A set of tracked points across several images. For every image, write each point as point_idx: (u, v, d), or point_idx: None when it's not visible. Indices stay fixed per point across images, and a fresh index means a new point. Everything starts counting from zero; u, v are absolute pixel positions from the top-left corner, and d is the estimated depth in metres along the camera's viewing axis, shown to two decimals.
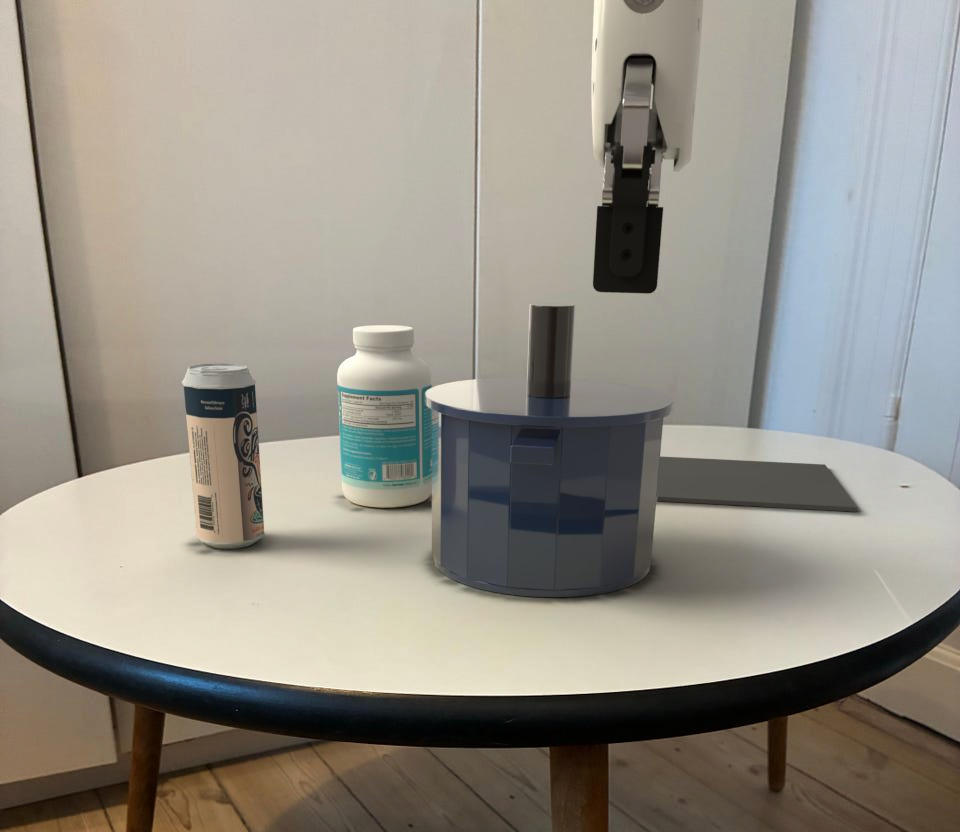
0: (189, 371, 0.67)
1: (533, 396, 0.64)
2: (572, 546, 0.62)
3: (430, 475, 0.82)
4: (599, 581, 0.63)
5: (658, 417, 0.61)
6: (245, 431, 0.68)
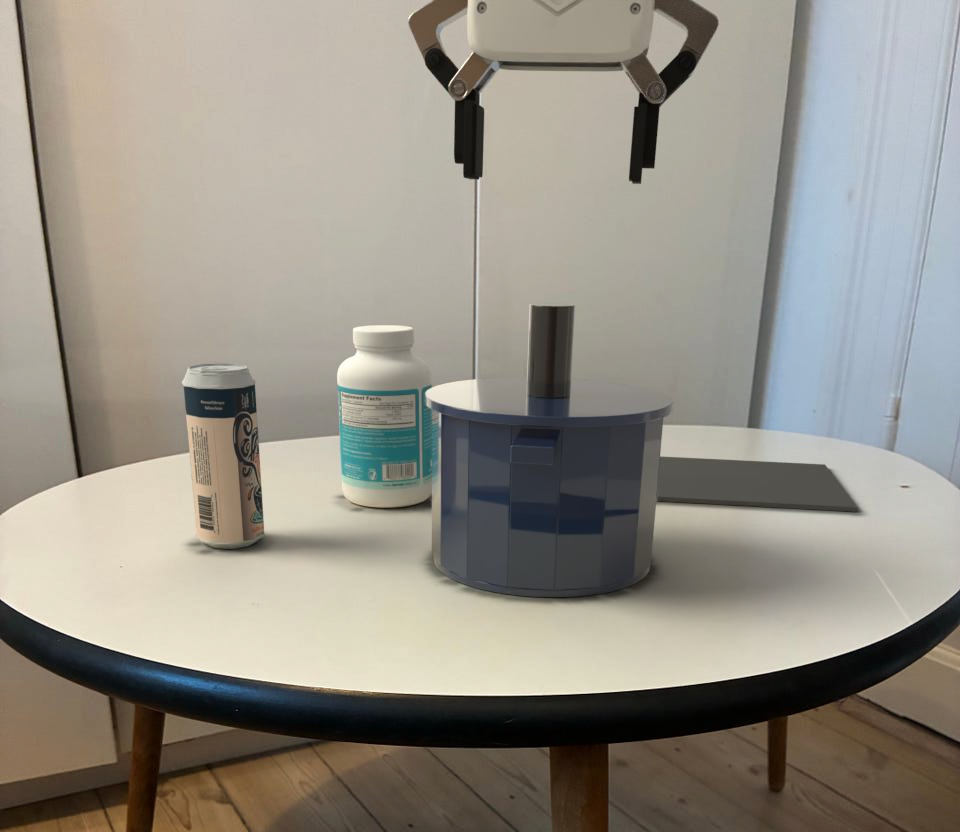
0: (189, 371, 0.67)
1: (533, 396, 0.64)
2: (572, 546, 0.62)
3: (430, 475, 0.82)
4: (599, 581, 0.63)
5: (658, 417, 0.61)
6: (245, 431, 0.68)
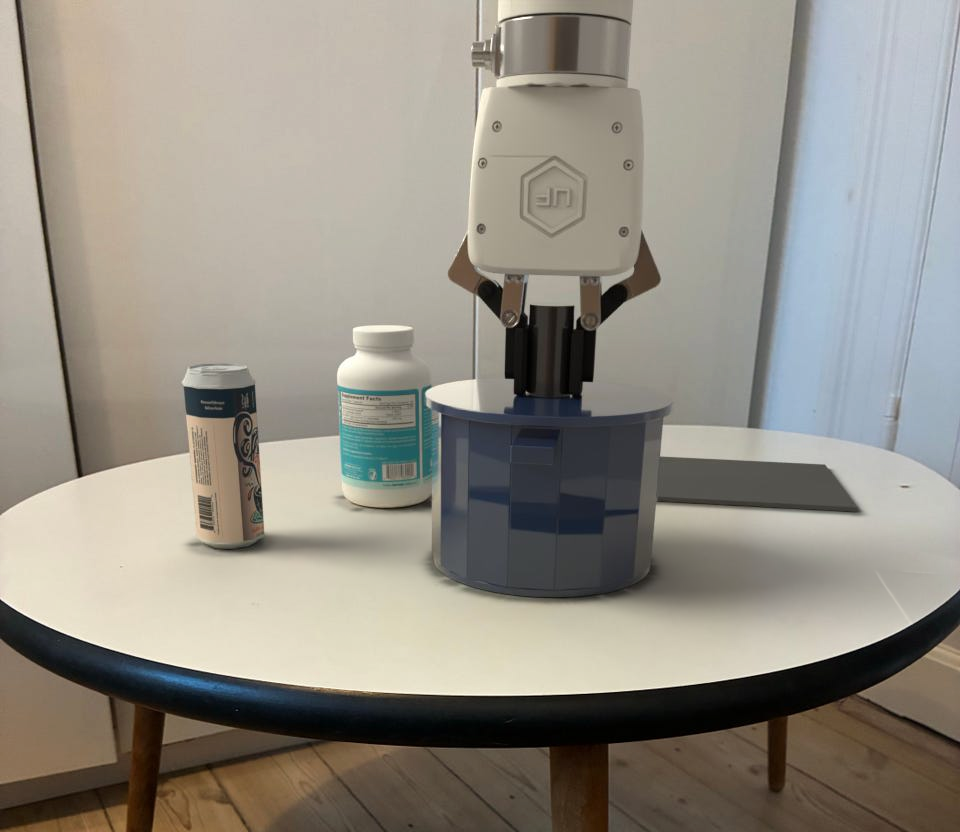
0: (189, 371, 0.67)
1: (533, 396, 0.64)
2: (572, 546, 0.62)
3: (430, 475, 0.82)
4: (599, 581, 0.63)
5: (658, 417, 0.61)
6: (245, 431, 0.68)
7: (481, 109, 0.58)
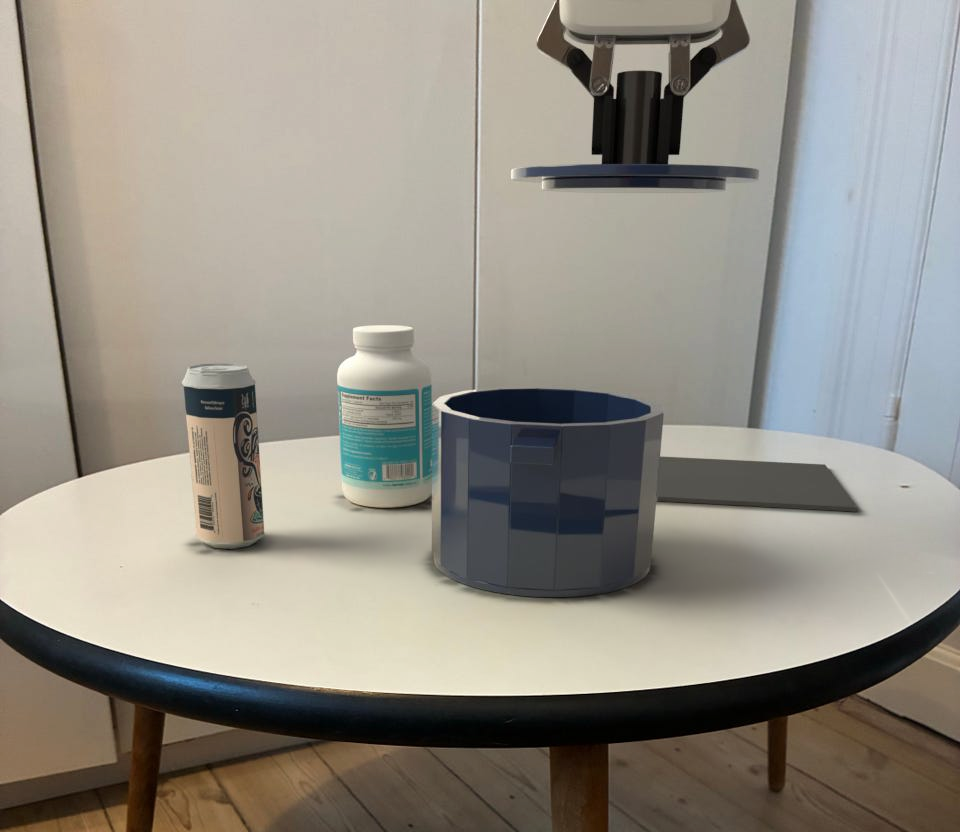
0: (189, 371, 0.67)
1: None
2: (572, 546, 0.62)
3: (430, 475, 0.82)
4: (599, 581, 0.63)
5: (749, 176, 0.62)
6: (245, 431, 0.68)
7: None
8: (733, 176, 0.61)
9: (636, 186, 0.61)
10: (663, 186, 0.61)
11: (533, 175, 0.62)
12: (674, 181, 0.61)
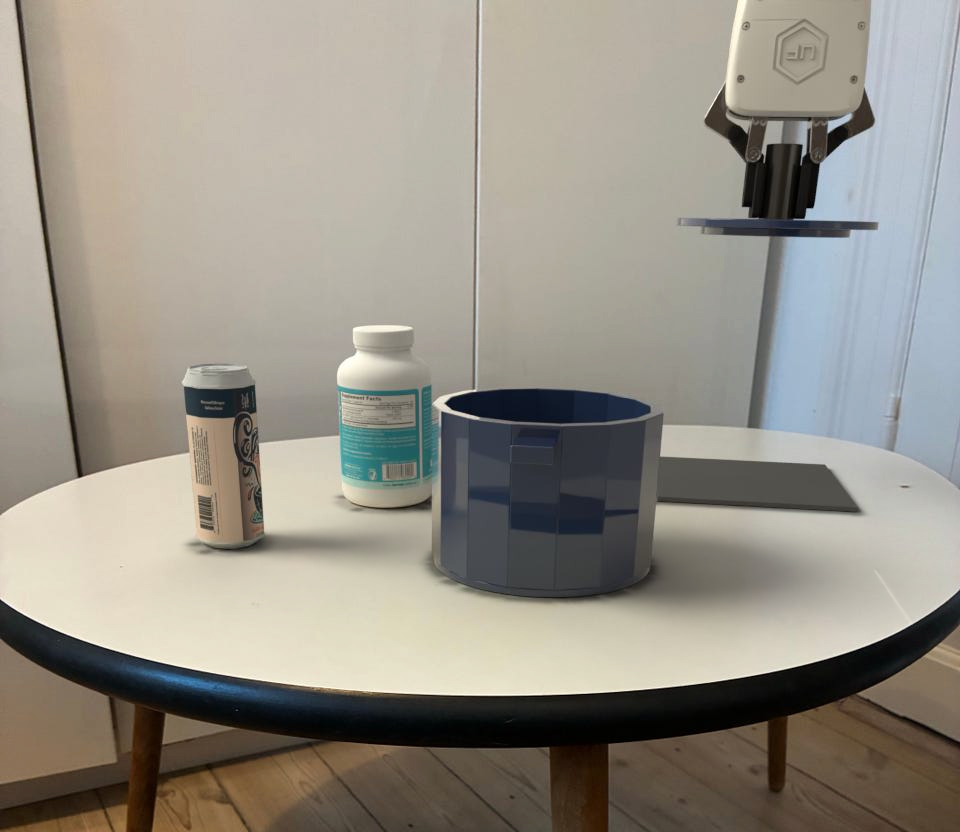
0: (189, 371, 0.67)
1: (766, 219, 0.82)
2: (572, 546, 0.62)
3: (430, 475, 0.82)
4: (599, 581, 0.63)
5: (873, 228, 0.79)
6: (245, 431, 0.68)
7: None
8: (862, 229, 0.77)
9: (785, 235, 0.78)
10: (806, 236, 0.78)
11: (702, 225, 0.79)
12: (815, 232, 0.78)
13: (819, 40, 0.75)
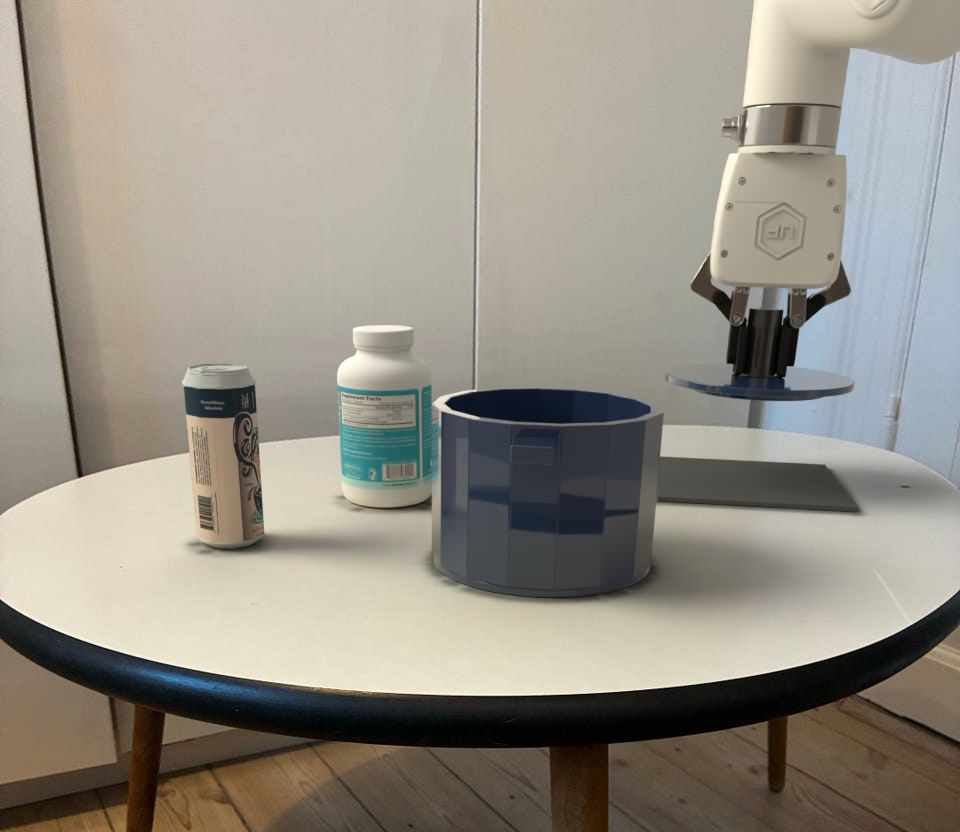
0: (189, 371, 0.67)
1: (749, 376, 0.87)
2: (572, 546, 0.62)
3: (430, 475, 0.82)
4: (599, 581, 0.63)
5: (848, 391, 0.84)
6: (245, 431, 0.68)
7: (730, 168, 0.80)
8: (838, 394, 0.82)
9: (766, 400, 0.83)
10: (785, 400, 0.83)
11: (688, 387, 0.84)
12: None
13: (798, 221, 0.80)
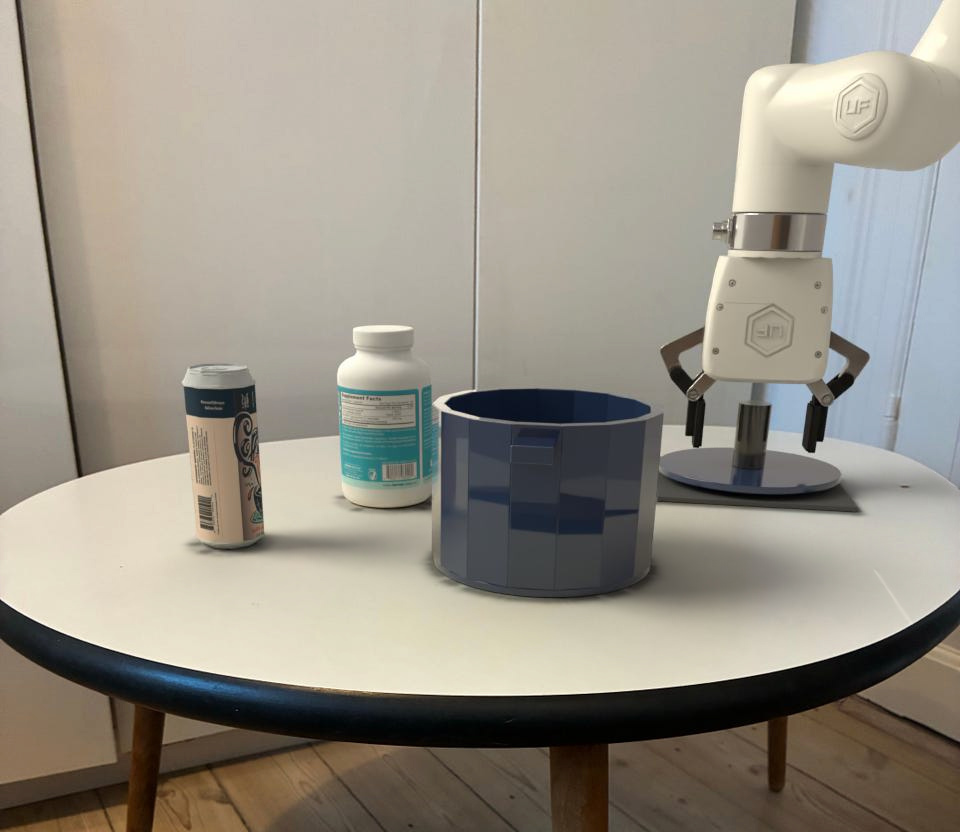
0: (189, 371, 0.67)
1: (739, 467, 0.90)
2: (572, 546, 0.62)
3: (430, 475, 0.82)
4: (599, 581, 0.63)
5: (835, 485, 0.87)
6: (245, 431, 0.68)
7: (720, 270, 0.83)
8: (824, 489, 0.85)
9: (755, 494, 0.86)
10: (774, 494, 0.86)
11: (680, 481, 0.87)
12: None
13: (786, 321, 0.83)
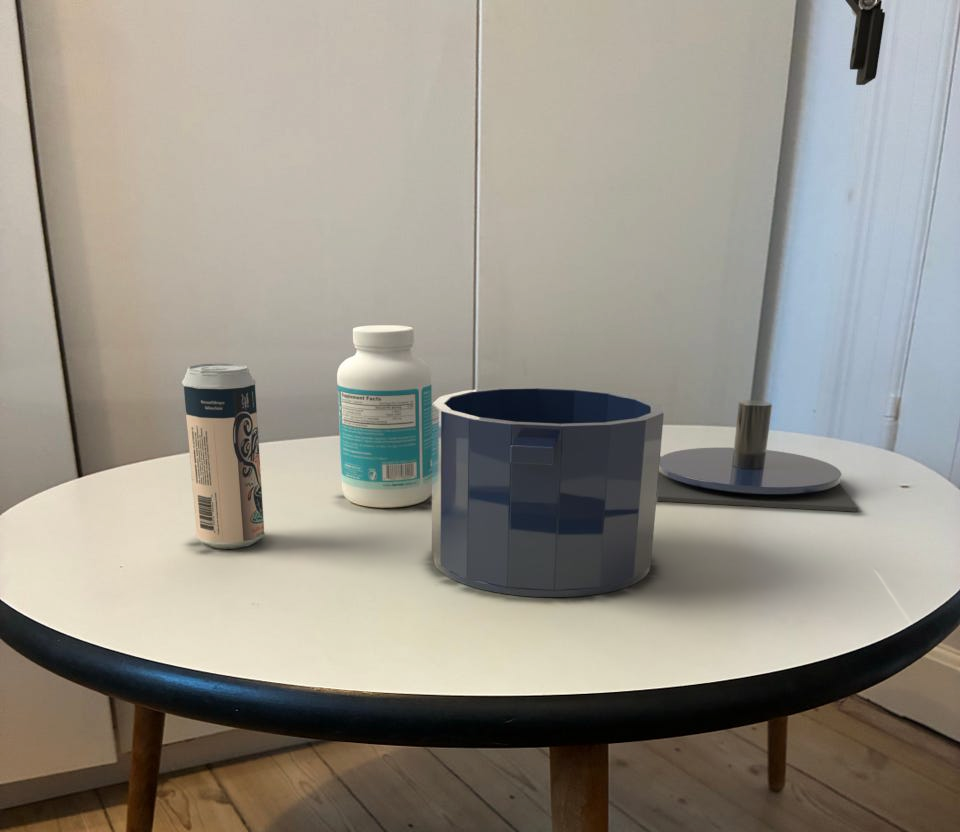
0: (189, 371, 0.67)
1: (739, 467, 0.90)
2: (572, 546, 0.62)
3: (430, 475, 0.82)
4: (599, 581, 0.63)
5: (835, 485, 0.87)
6: (245, 431, 0.68)
7: None
8: (824, 489, 0.85)
9: (755, 494, 0.86)
10: (774, 494, 0.86)
11: (680, 481, 0.87)
12: None
13: None
